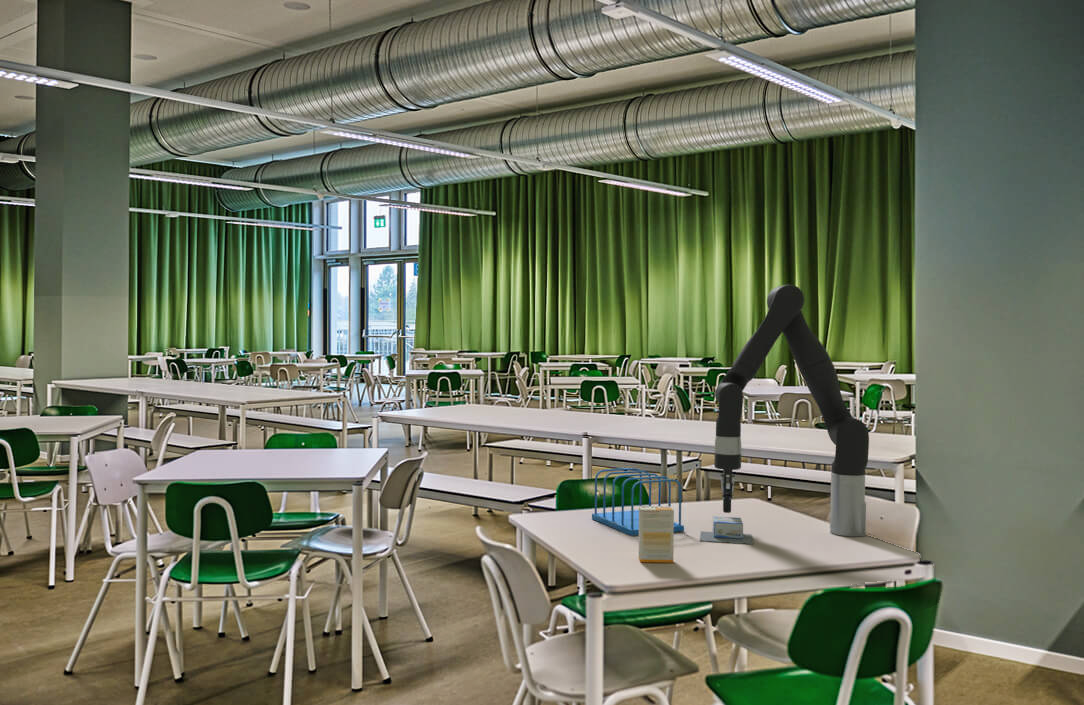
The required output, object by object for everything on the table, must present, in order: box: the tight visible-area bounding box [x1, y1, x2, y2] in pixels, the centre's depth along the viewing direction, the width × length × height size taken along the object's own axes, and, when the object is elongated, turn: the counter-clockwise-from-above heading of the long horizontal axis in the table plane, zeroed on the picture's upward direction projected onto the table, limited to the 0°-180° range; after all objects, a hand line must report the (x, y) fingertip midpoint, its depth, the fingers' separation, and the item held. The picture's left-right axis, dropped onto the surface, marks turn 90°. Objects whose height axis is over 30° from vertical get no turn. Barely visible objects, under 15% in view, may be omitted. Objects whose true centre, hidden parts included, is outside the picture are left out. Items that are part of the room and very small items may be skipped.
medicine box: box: [712, 516, 744, 539], centre depth 244 cm, size 8×4×9 cm
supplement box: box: [638, 505, 675, 564], centre depth 214 cm, size 8×5×13 cm, turn 88°
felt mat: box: [699, 530, 754, 545], centre depth 242 cm, size 14×12×1 cm
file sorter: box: [591, 467, 685, 536], centre depth 258 cm, size 25×17×15 cm
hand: (727, 512), depth 252 cm, fingers closed
